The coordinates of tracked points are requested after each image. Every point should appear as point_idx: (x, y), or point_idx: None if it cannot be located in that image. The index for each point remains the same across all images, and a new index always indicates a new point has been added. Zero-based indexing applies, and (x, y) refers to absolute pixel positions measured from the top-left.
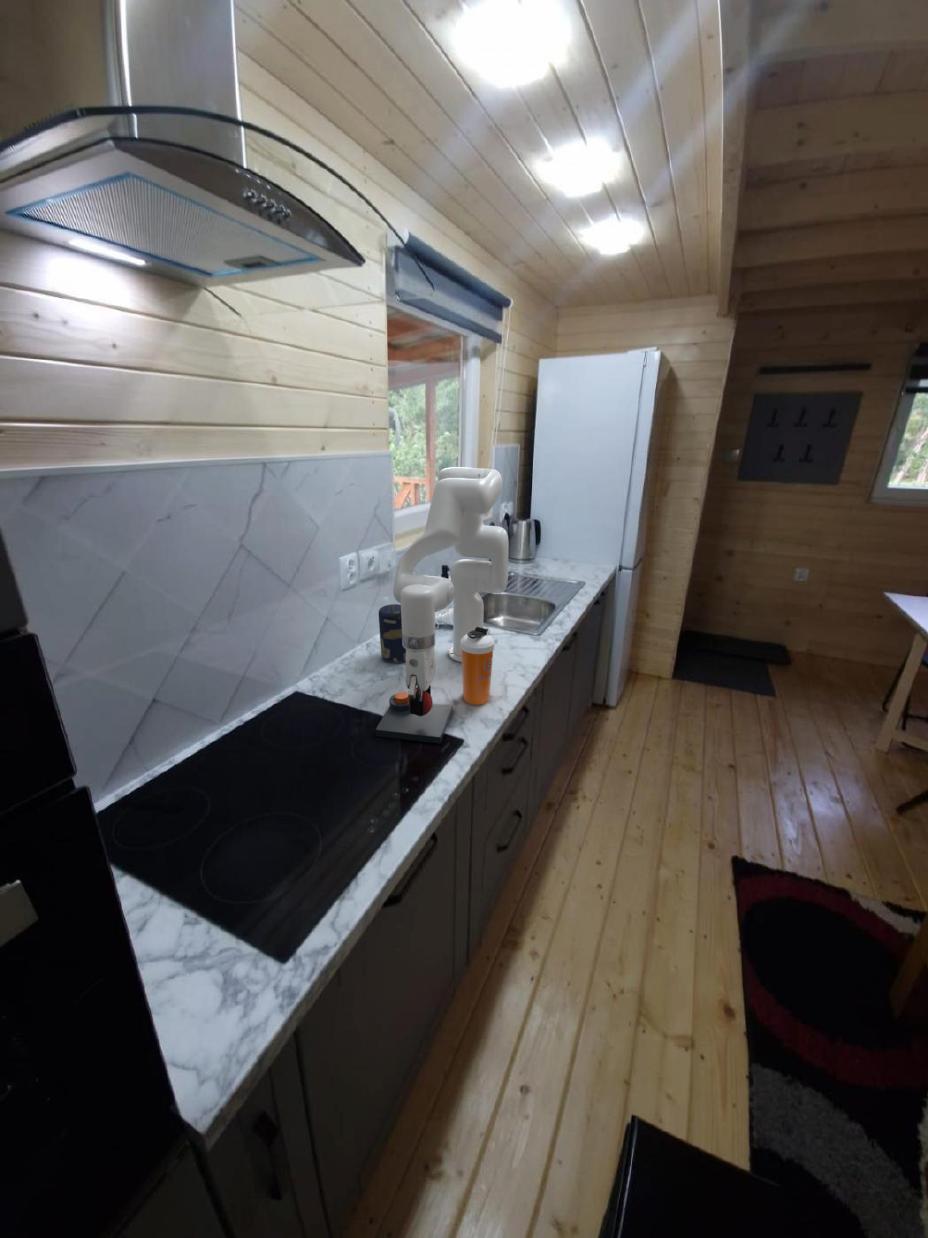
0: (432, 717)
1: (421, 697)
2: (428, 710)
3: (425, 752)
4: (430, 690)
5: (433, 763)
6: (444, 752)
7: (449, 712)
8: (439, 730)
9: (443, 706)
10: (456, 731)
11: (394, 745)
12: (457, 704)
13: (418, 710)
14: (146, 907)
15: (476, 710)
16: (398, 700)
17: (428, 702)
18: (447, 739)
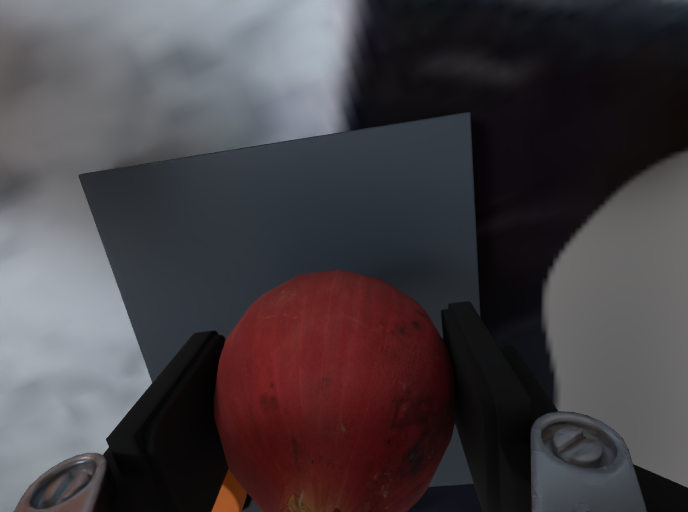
0: (268, 251)
1: (547, 459)
2: (382, 282)
3: (557, 170)
4: (154, 389)
5: (657, 79)
6: (534, 53)
7: (163, 164)
8: (394, 149)
9: (119, 230)
10: (294, 61)
11: (528, 348)
12: (19, 169)
13: (518, 362)
14: None
15: (5, 11)
16: (244, 500)
17: (376, 323)
18: (396, 88)
